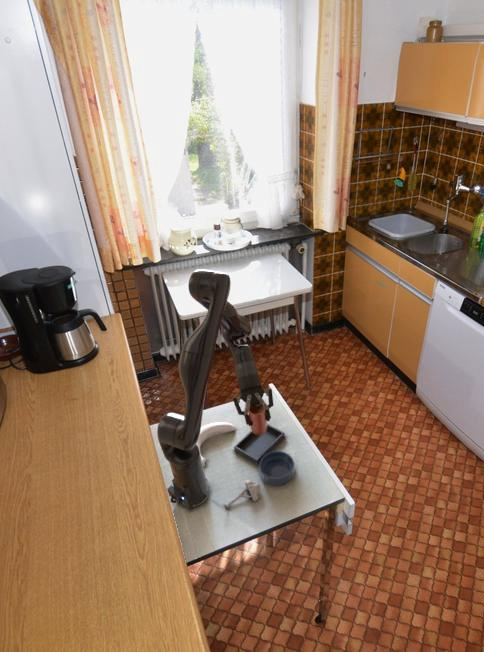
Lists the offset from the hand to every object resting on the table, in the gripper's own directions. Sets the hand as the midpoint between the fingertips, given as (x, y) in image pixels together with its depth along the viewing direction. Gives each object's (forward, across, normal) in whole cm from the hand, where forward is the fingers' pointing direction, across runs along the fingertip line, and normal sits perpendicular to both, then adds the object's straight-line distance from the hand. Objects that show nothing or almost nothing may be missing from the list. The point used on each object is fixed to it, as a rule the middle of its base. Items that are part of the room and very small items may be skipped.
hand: (259, 423), depth 148 cm
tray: (+7, 0, +9) cm, 12 cm away
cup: (+2, 0, +4) cm, 5 cm away
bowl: (+17, +2, -1) cm, 17 cm away
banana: (+3, -16, +13) cm, 21 cm away
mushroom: (+21, -11, -5) cm, 24 cm away
